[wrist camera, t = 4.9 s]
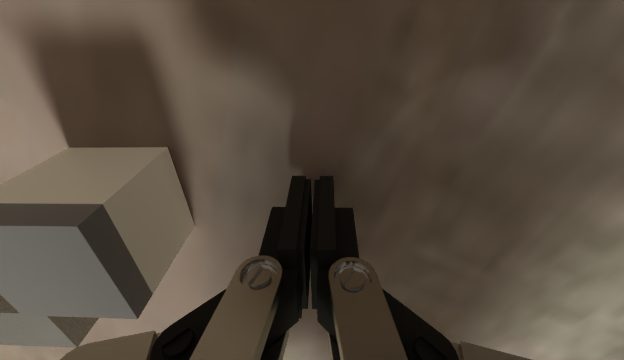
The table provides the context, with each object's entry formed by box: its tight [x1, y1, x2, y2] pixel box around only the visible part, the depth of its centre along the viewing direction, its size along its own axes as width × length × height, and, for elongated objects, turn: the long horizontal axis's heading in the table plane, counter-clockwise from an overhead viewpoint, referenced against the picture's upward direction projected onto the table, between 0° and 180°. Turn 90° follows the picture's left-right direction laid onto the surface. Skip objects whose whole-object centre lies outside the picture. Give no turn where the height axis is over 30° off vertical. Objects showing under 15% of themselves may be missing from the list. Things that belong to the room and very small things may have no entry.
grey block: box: [0, 147, 194, 319], centre depth 11 cm, size 4×4×5 cm
